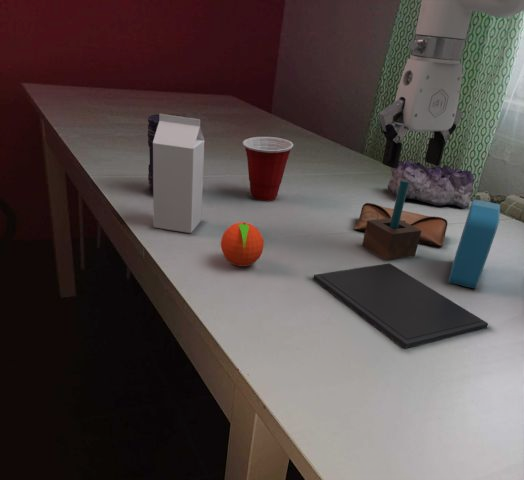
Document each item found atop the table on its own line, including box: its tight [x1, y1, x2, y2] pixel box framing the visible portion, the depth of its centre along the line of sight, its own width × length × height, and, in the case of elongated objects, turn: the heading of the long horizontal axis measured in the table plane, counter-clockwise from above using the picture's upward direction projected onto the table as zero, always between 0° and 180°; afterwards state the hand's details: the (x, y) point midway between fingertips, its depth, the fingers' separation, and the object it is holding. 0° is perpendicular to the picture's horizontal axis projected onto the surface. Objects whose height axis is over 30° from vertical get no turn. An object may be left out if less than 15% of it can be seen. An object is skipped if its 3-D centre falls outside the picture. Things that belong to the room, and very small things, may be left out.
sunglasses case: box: [354, 202, 448, 247], centre depth 109 cm, size 18×7×7 cm
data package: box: [448, 199, 501, 290], centre depth 91 cm, size 12×4×12 cm, turn 158°
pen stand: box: [361, 218, 421, 261], centre depth 99 cm, size 7×7×5 cm
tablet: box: [313, 262, 489, 349], centre depth 82 cm, size 16×22×1 cm
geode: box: [386, 160, 475, 210], centre depth 130 cm, size 20×12×10 cm, turn 79°
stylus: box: [390, 180, 409, 229], centre depth 97 cm, size 2×2×13 cm
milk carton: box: [152, 113, 205, 234], centre depth 96 cm, size 7×7×19 cm
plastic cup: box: [242, 136, 294, 202], centre depth 118 cm, size 11×11×12 cm
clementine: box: [220, 221, 265, 267], centre depth 86 cm, size 8×7×7 cm
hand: (411, 164), depth 92 cm, fingers open, 9 cm apart
